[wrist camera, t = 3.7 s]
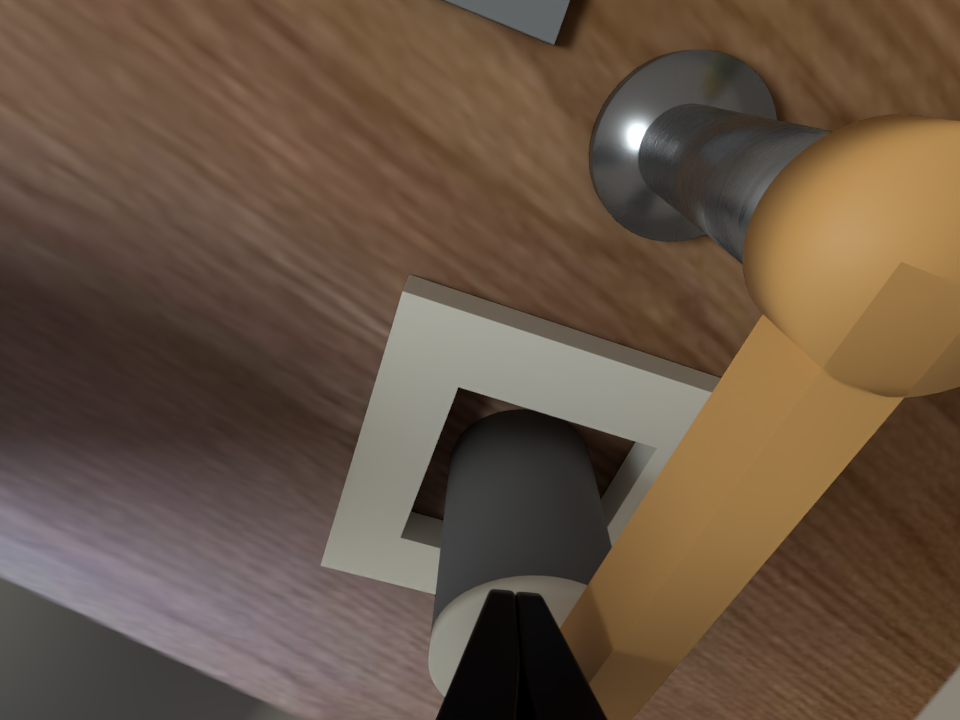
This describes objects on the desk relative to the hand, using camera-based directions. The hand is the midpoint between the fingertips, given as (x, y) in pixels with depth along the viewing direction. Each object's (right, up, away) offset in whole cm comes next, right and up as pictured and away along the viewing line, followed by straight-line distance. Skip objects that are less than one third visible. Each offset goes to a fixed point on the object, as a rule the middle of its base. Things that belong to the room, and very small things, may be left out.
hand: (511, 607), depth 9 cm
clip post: (+4, +9, +4) cm, 10 cm away
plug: (+1, +1, +8) cm, 9 cm away
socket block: (+1, +1, +8) cm, 8 cm away
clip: (+2, +1, 0) cm, 2 cm away
